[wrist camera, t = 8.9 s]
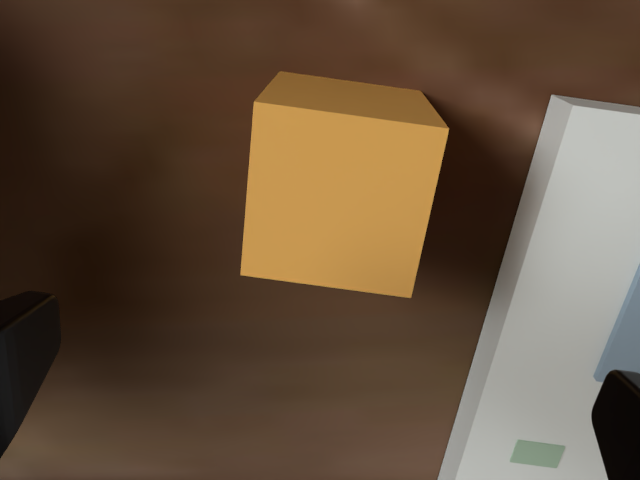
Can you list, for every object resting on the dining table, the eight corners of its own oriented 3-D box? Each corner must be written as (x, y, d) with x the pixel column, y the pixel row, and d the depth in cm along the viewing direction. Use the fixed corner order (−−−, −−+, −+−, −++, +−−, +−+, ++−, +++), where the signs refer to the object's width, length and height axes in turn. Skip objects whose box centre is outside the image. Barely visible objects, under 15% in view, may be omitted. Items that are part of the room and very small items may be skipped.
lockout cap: (394, 220, 22) (411, 298, 16) (267, 203, 22) (240, 274, 16) (420, 90, 20) (449, 128, 14) (279, 71, 20) (254, 101, 14)
